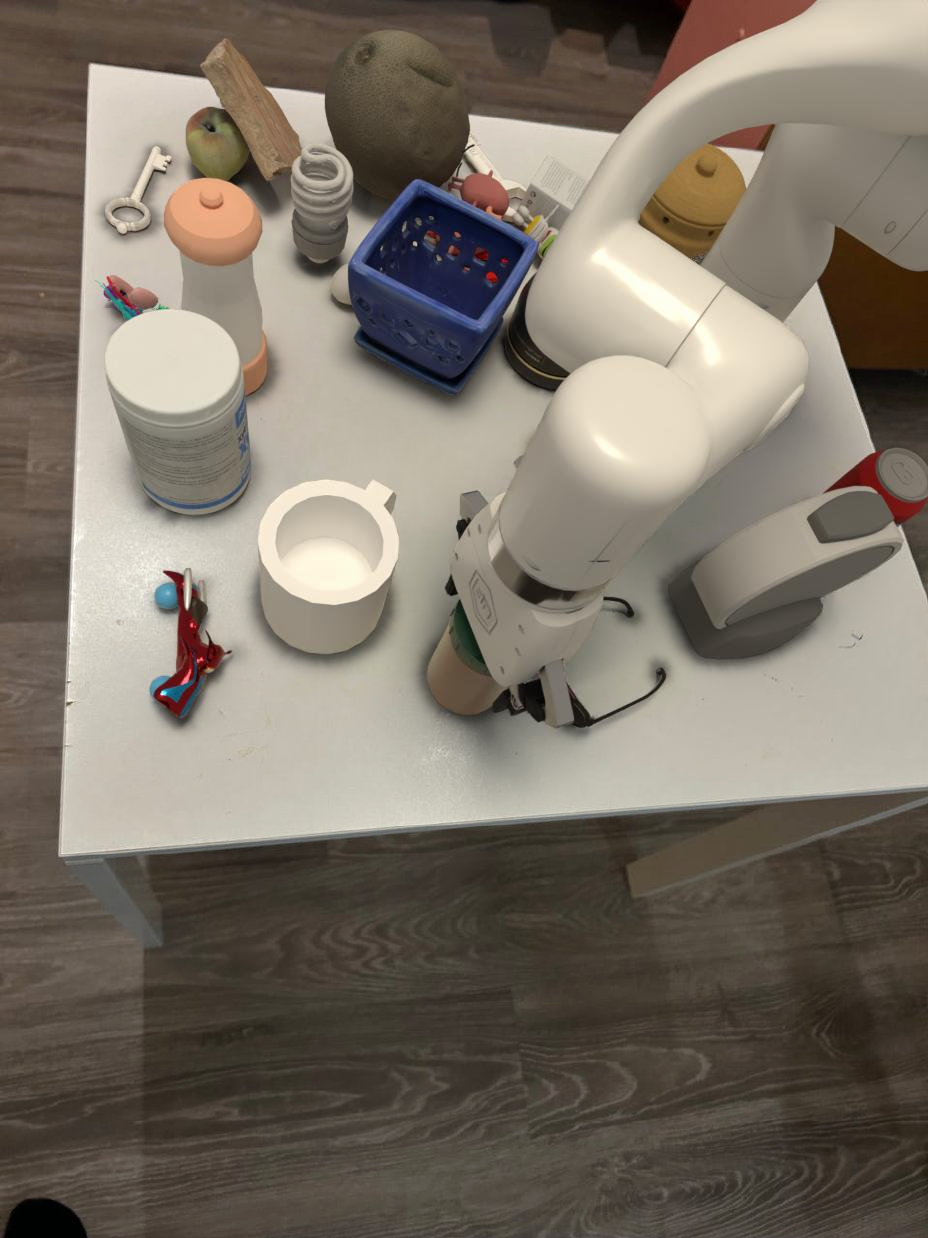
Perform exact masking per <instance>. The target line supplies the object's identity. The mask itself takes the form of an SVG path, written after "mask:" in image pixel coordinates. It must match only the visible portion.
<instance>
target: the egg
mask: <svg viewBox="0 0 928 1238" xmlns="http://www.w3.org/2000/svg"><path fill="white" fill-rule="evenodd" d="M348 264H349V261H348V262H346V263H344V264H343V265H342V266H341V267H340V268H339V269H338V270H336V272H335V273H334V275H333V276H332V279H331V284H330V289H331V292H332V294H331V295H333V296H334V298H335V299H336V300H337V301H338V302H340V303H342V304H345V305H351V306H352V304H351V300H350V295H349V287H348ZM381 270H382V268H381ZM381 270H380V272H381Z"/></svg>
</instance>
